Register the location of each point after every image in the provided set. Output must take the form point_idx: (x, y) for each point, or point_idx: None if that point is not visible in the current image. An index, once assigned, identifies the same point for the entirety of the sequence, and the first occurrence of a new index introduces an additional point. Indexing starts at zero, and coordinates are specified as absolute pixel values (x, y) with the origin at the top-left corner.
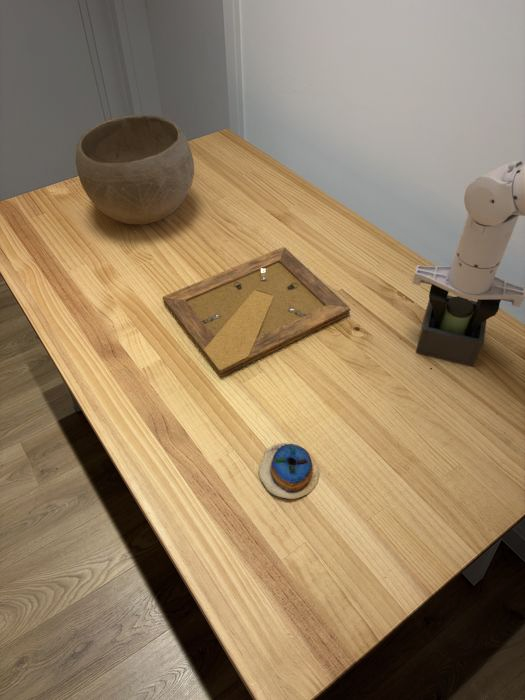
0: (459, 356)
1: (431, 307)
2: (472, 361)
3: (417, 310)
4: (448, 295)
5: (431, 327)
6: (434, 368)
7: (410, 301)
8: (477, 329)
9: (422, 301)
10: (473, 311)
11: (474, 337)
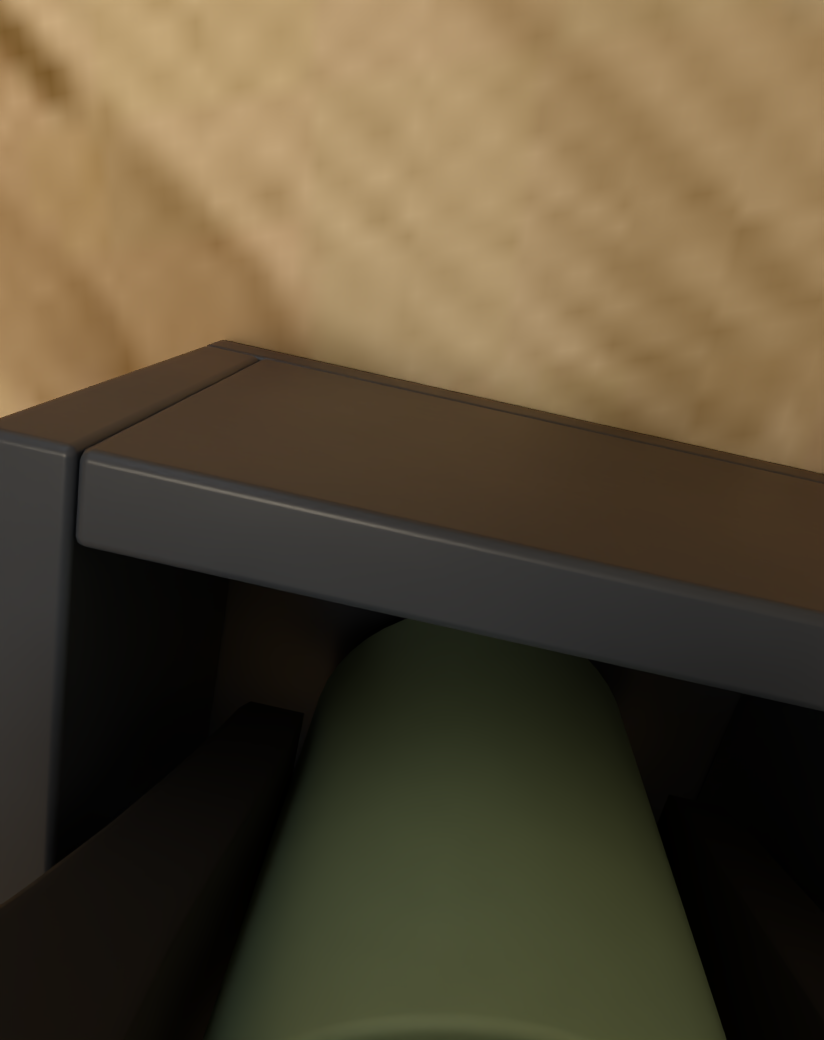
0: None
1: (27, 869)
2: None
3: (134, 254)
4: (361, 510)
5: (282, 591)
6: None
7: (27, 74)
8: (796, 876)
9: (187, 45)
10: (801, 1033)
11: (739, 803)
